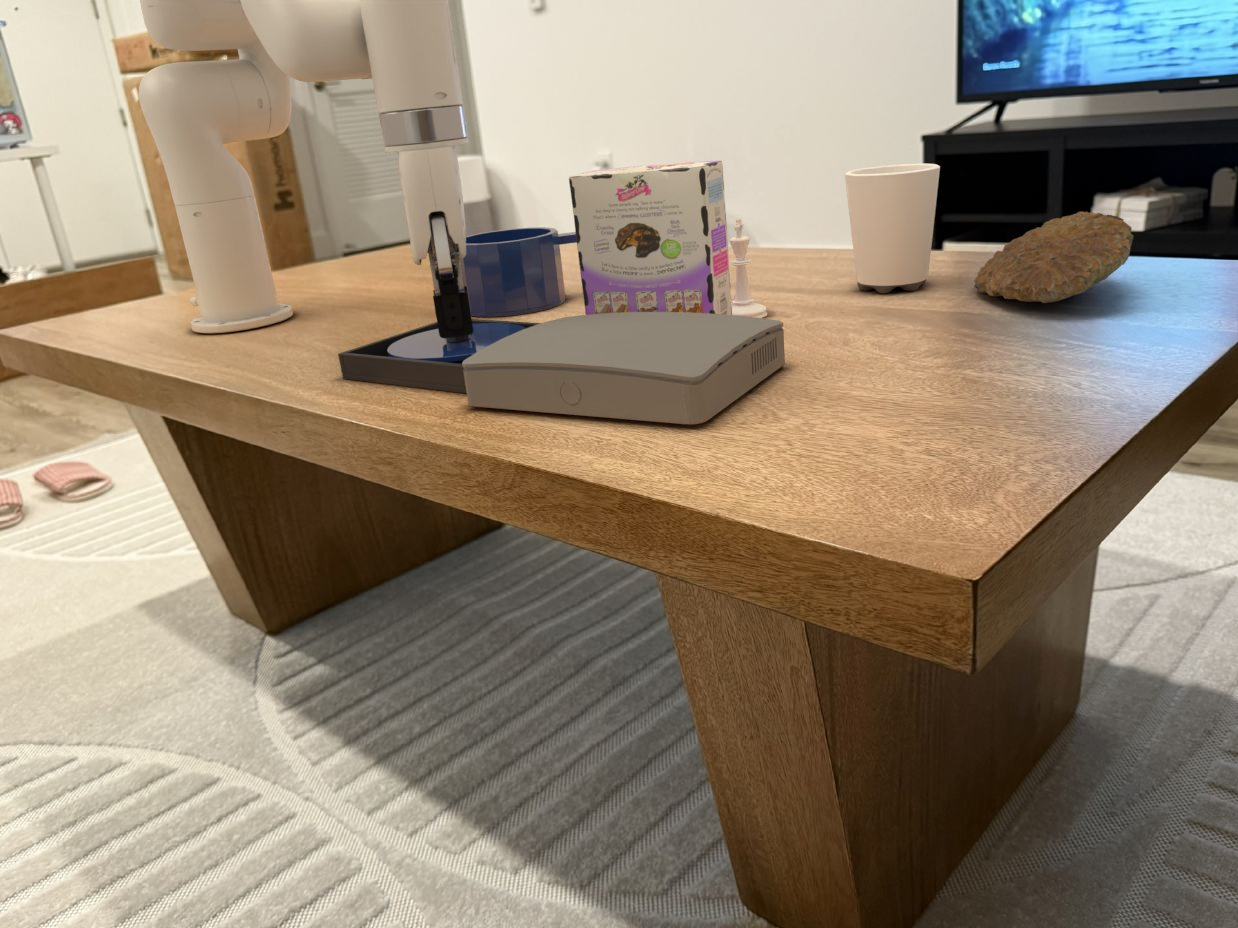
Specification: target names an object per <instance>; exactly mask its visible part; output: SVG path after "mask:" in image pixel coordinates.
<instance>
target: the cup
mask: <svg viewBox="0 0 1238 928" xmlns="http://www.w3.org/2000/svg"><path fill="white" fill-rule="evenodd" d="M940 171H941V166H940V165H938V164H936V163H902V164H901V163H899V164H888V165H877V166H869V167H868V166H867V167H862V168H861V167H860V168H856V169H852V170H848V171H846V172H845V173H844V178H845V179H844V180H845V187H846V197H847V205H848V215H849V223H850V224H849V225H850V233H851V242H852V250H853V259H854V268H855V277H856V284H857V287H858V288H859V290H861V291H867V292H868V291H872V290H875V291H876V292H877V293H879V294H890V293H891V292H892V291H893V290H894V289H895V288H898V287H899V288H900V289H902V290H904V291H907V292H914V291H917V290H918V289H919V288H920V287H921V286H924V285H925V284H926V282H927V280H928V279H929V273H930V265H931V254H932V244H933V236H934V235H933V234H934V227H935V226H934V225H935V217H936V209H937V198H938V189H939V180H940Z"/></svg>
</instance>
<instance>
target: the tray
mask: <svg viewBox="0 0 1238 928" xmlns="http://www.w3.org/2000/svg"><path fill="white" fill-rule="evenodd" d="M471 319H472V324H480V323H507V324H515V325H520V326H523V327H525V328H529V327H532V326H535V325H537V324H541V323H542V322H530V321H529V322H528V321H527V322H526V321H511V320H495V319H494V320H493V319H478V318H477V319H476V318H471ZM435 329H438V324H437V321H435V322H431V323H428V324H425V325H421V326H419V327H417V328H414V329H413V328H412V329H409V330H407V331H404V332H401V333H398V334H395V335H392V336H389V337H386V338H385V337H384V338H383V339H379V340H376V341H372V342H370V343H367V344H364V345H361V346H357V347H355V348H352V349H349V350H345V351H343V352H339V353H338V354H337V355H338V360H339V361H338V362H339V365H340V366H339V367H340V371H341V376H342V379H343V380H350V381H358V382H368V383H375V384H383V385H391V386H392V385H393V386H400V387H410V388H418V389H424V390H425V389H426V390H435V391H441V392H442V391H443V392H451V393H460V394H467V392H466V385H465V379H464V372H463V369H464V368H463V366H462V362H458V363H448V362H437V361H427V360H417V359H406V358H396V357H389V356H388V352H387V349H388V347H389V346H390V345H391V344H393V343H394V342H396V341H398V340H400V339H403V338H405V337H408V336H411V335H414V334H418V333H422V332H426V331H430V330H435Z"/></svg>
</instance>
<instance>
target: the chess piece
mask: <svg viewBox="0 0 1238 928" xmlns="http://www.w3.org/2000/svg"><path fill="white" fill-rule="evenodd" d="M743 229H744V224H743V223H742V218H736V219H735V226H734V232H736V235H735V236H733V237H731V238H730V239H729V243H730V246H731V249H732V251H733V254H734V256H735V258H734V259H732V260H731V261H730V266H734V267H735V266H736V268H735V269H736V272H735V279H736V280H735V291H734V299H731V306H732V315H735V316H747V317H756V318H766V317H767V316H768V312H767V307H766V305H763V304H761V303H757V302H754V301H755V299H754V298H753V297H752V295H751V291H750V285H749V280H748V273H747V267H746V265H750V264H752V260H751V259H750V258H747V257H746V256H747V252H748V247H749V244H750V237H749V236H746V235H743ZM732 303H733V304H732Z"/></svg>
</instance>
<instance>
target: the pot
mask: <svg viewBox="0 0 1238 928" xmlns="http://www.w3.org/2000/svg"><path fill="white" fill-rule="evenodd" d="M567 244H577V239H576V231H570V232H563V233H559V231H558V229H557V228H554V227H545V226H543V227H539V226H538V227H537V226H536V227H520V228H508V229H499V230H491V231H486V232H479V233H473V234H469V235H466V256H465V257H464V258H463V259H462V260H461V258H460V261H461V271H462V277H463V284H464V286H467V292H468V299H469V305H470V312H471V317H476V318H477V317H478V318H500V317H511V316H512V317H513V316H521V315H527V314H534V313H538V312H542V311H546V310H549V309H553V308H555V307H557V306H560V305H561V304H563V303H564V302H565V301H566V288H565V280H564V279H565V278H564V272H563V262H562V256H561V255H562V254H561V246H560V245H567ZM454 252H455V251H454Z"/></svg>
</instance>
